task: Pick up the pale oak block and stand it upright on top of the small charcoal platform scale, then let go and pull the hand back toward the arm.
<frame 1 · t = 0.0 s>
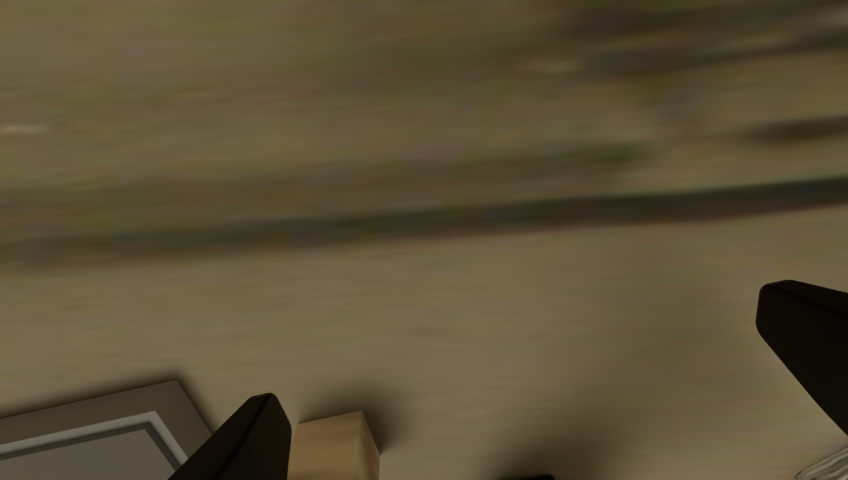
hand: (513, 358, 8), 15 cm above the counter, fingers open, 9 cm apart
oak block: (339, 439, 29), on the counter
platform scale: (116, 477, 29), on the counter
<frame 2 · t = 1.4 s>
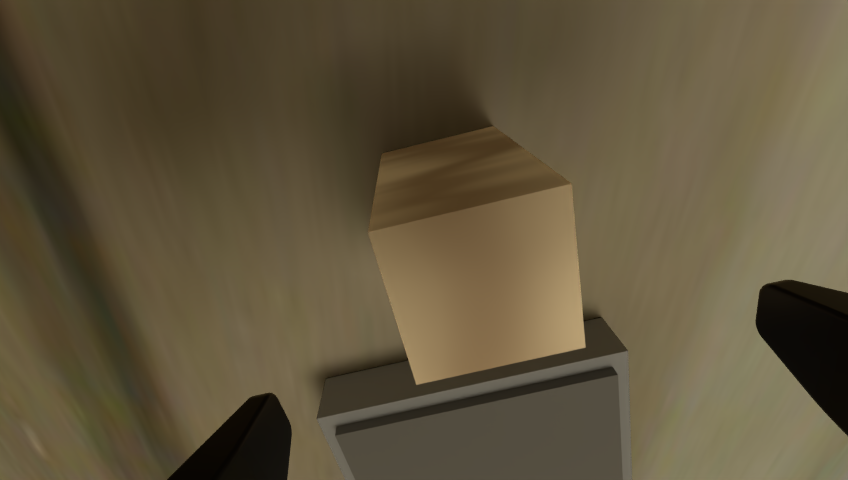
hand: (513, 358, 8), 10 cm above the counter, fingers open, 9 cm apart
oak block: (448, 193, 17), on the counter
platform scale: (488, 456, 24), on the counter
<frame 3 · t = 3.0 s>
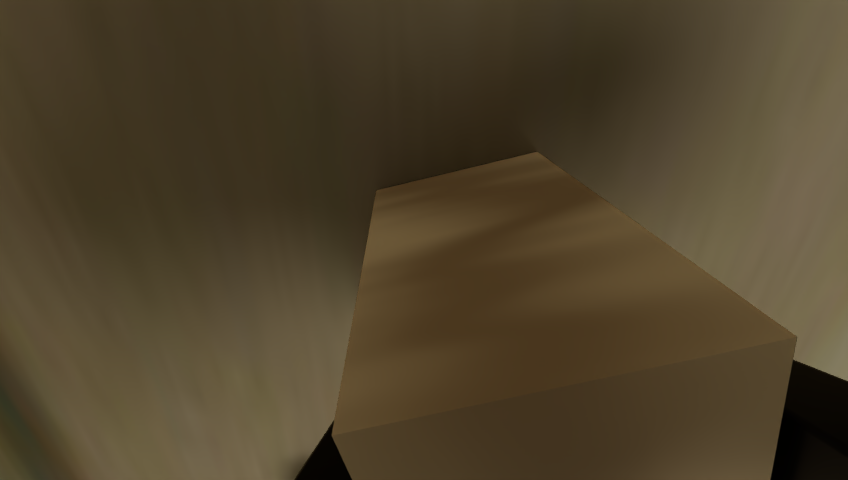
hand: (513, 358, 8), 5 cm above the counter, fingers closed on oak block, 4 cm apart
oak block: (470, 243, 12), on the counter, touching gripper
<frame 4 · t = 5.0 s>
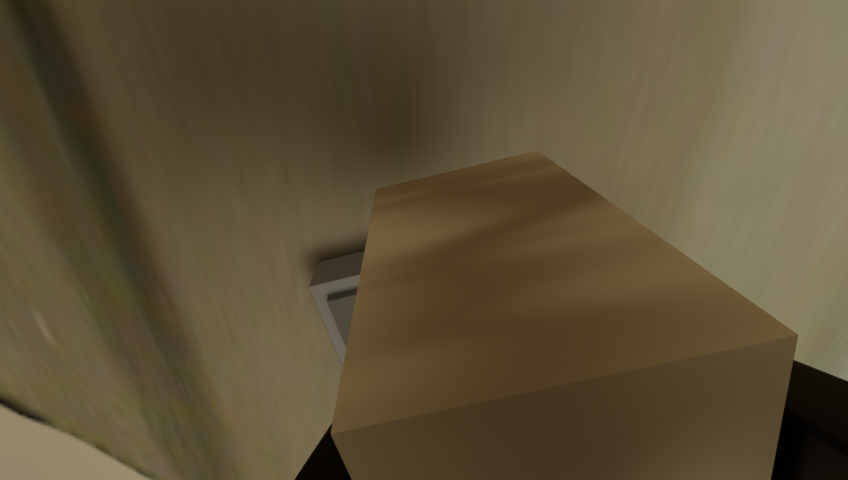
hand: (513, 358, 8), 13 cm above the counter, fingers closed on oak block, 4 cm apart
oak block: (470, 242, 12), point 8 cm above the counter, touching gripper
platform scale: (478, 349, 24), on the counter
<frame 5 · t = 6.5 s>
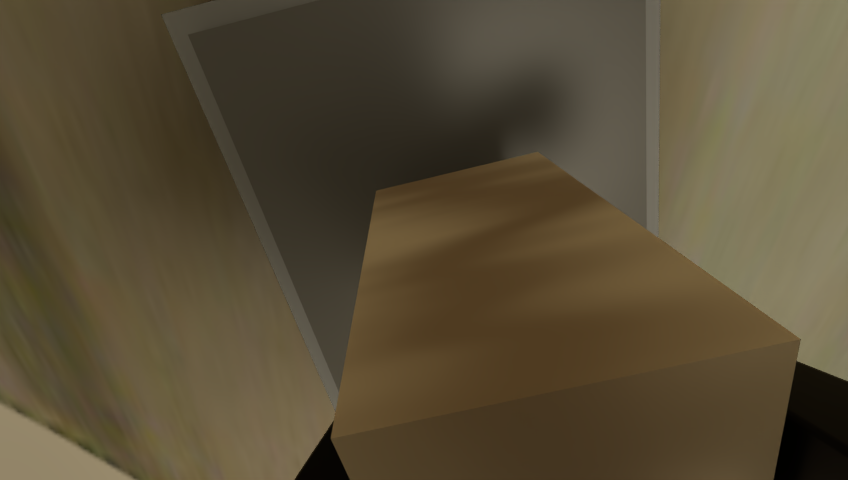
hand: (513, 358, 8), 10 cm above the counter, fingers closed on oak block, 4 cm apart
oak block: (470, 244, 12), point 5 cm above the counter, touching gripper
platform scale: (451, 194, 17), on the counter
when the fingers open (9 cm above the counter, at t = 7.4 s): oak block drops 1 cm, resting on platform scale.
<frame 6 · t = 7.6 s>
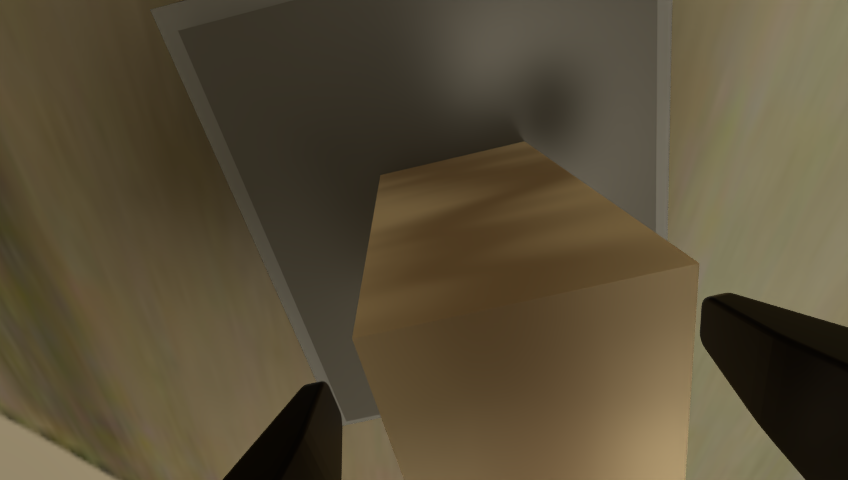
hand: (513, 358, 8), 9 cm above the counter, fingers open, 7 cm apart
oak block: (464, 224, 13), point 3 cm above the counter, touching platform scale
platform scale: (453, 197, 16), on the counter
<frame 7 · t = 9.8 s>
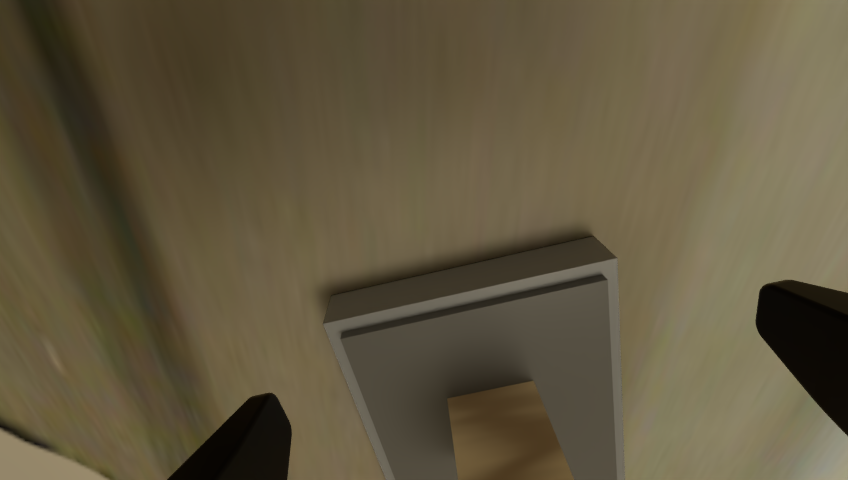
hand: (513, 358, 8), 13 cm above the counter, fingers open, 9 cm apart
oak block: (496, 420, 22), point 3 cm above the counter, touching platform scale
platform scale: (485, 380, 25), on the counter
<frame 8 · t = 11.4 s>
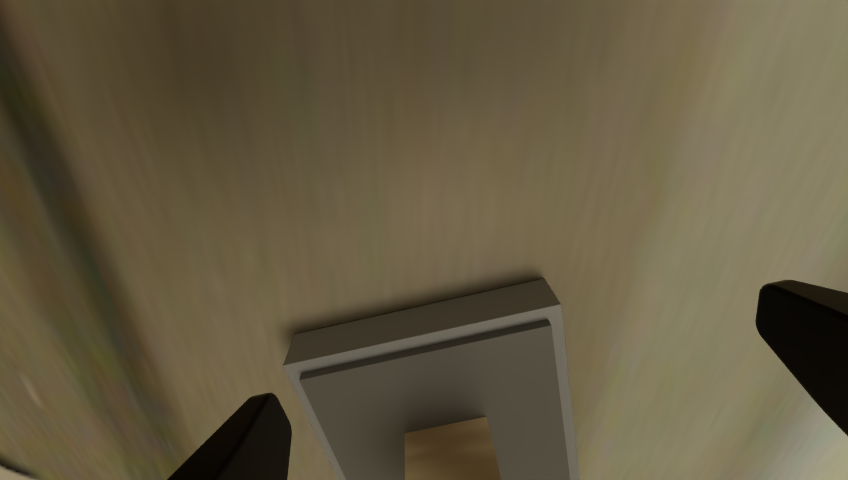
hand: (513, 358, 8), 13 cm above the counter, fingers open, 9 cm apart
oak block: (453, 453, 23), point 3 cm above the counter, touching platform scale
platform scale: (447, 411, 26), on the counter
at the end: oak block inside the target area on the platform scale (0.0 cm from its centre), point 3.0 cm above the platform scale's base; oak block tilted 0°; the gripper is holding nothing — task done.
